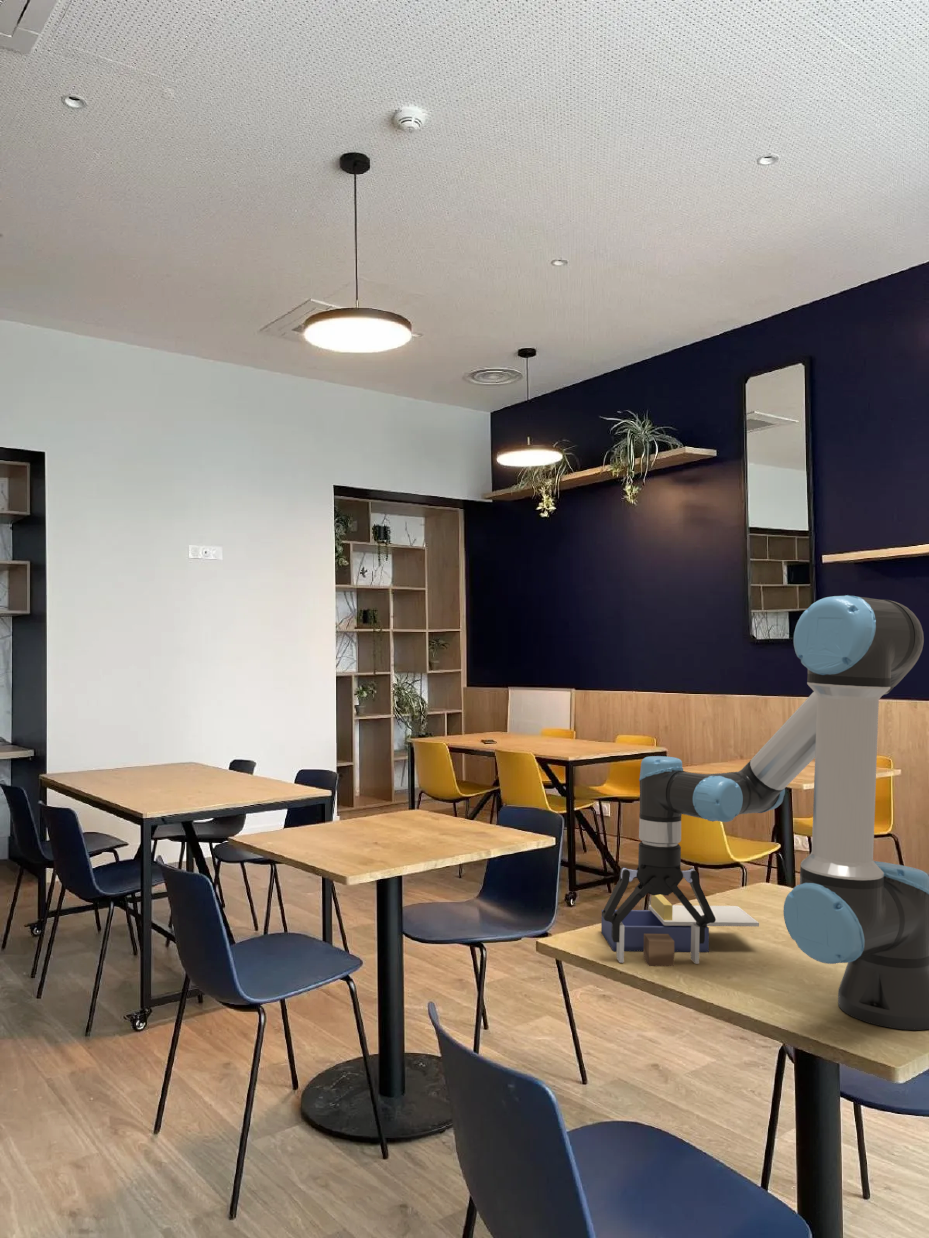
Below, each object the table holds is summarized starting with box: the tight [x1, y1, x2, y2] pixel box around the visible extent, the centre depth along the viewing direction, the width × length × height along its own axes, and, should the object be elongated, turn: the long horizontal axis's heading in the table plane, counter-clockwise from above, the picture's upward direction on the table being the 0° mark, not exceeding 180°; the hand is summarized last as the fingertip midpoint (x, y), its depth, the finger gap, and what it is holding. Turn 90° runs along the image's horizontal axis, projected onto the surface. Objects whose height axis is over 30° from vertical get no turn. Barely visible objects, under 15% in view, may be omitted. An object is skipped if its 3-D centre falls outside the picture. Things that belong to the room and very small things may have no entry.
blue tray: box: [600, 909, 710, 953], centre depth 181 cm, size 12×18×4 cm, turn 92°
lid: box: [648, 894, 760, 928], centre depth 182 cm, size 12×18×4 cm, turn 92°
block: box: [642, 934, 675, 967], centre depth 169 cm, size 4×4×4 cm
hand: (657, 960), depth 169 cm, fingers open, 13 cm apart
